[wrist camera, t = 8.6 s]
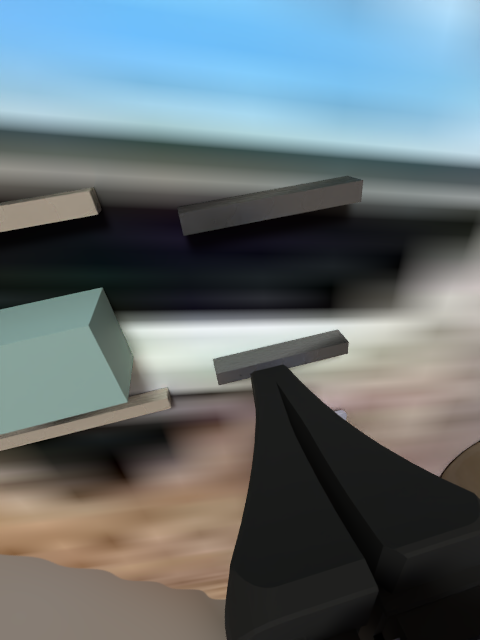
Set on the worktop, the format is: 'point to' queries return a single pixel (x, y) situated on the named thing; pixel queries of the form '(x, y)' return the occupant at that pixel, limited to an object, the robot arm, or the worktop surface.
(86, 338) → the painted block
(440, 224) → the worktop surface
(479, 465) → the plant pot
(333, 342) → the chute
